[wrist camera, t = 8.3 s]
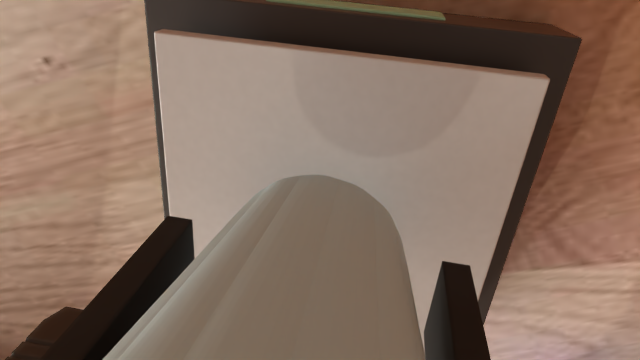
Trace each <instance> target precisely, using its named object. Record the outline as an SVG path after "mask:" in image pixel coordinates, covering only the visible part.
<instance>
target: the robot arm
mask: <svg viewBox="0 0 640 360" xmlns="http://www.w3.org/2000/svg"><path fill="white" fill-rule="evenodd" d="M194 259H195V257H194V240H193V223H192V219H185V218H179V217H173V216H167V217H166V219H165V220H164V221H163V222H162V223H161V224H160V225H159V226H158V227H157V229H156V230H155V231H154V232H153V233H152V234H151V235H150V236H149V237H148V239H147V240H146V241H145V242H144V243H143V244H142V245H141V246H140V248H139V249H138V250H137V251H136V252H135V253H134V254H133V255H132V256H131V258H130V259H129V260H128V261H127V262H126V263H125V264H124V265H123V267H122V268H121V269H120V270H119V271H118V272H117V273H116V274H115V275H114V277H113V278H112V279H111V280H110V281H109V282H108V283H107V284H106V286H105V287H104V288H103V289H102V290H101V291H100V292H99V293H98V294H97V296H96V297H95V298H94V299H93V300H92V301H91V302H90V303H89V304H88V306H87V307H86V308H85V309H84V310H82V309H76V308H71V307H65V308H63V309H61V310H60V311H58V312H56V313H55V314H53V315H52V316H50V317H48V318H47V319H45V320H43V321H42V322H41V323H40V325H39V326H38V327H37V328H36V329H35V330H34V331H33V332H32V333H31V334H30V335H29V336H28V337H27V338H26V341H25V342H22V343H21V344H20V345H19V346H18V347H17V348H16V349H15V350H14V351H13V352H12V355H11V356H10V357H7V358H6V359H5V360H102V359H103V358H104V357H105V356H106V355H107V354H108V353H109V352H110V351H111V350H112V349H113V347H114V346H115V345H116V344H117V343H118V342H119V341H120V340H121V339H122V338H123V337H124V335H125V334H126V333H127V332H128V331H129V330H130V329H131V328H132V327H133V326H134V325H135V323H136V322H137V321H138V320H139V319H140V318H141V317H142V316H143V315H144V314H145V313H146V312H147V310H148V309H149V308H150V307H151V306H152V305H153V304H154V303H155V302H156V301H157V300H158V298H159V297H160V296H161V295H162V294H163V293H164V292H165V291H166V290H167V289H168V288H169V286H170V285H171V284H172V283H173V282H174V281H175V280H176V279H177V278H178V277H179V276H180V274H181V273H182V272H183V271H184V270H185V269H186V268H187V267H188V266H189V265H190V264H191V263H192V261H193V260H194ZM424 347H425V358H426V360H491V359H490V354H489V350H488V345H487V341H486V336H485V332H484V327H483V322H482V318H481V313H480V309H479V304H478V300H477V295H476V291H475V286H474V281H473V277H472V272H471V268H470V265H464V264H458V263H452V262H446V261H442V264H441V268H440V272H439V275H438V279H437V283H436V287H435V291H434V294H433V298H432V302H431V306H430V310H429V313H428V317H427V321H426V325H425V329H424Z"/></svg>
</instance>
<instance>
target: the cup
mask: <svg viewBox="0 0 640 360" xmlns="http://www.w3.org/2000/svg"><path fill="white" fill-rule="evenodd" d="M102 360H426V358H425V353H424V348H423V343H422V338H421V333H420V328H419V322H418V317H417V312H416V307H415V302H414V297H413V292H412V286H411V281H410V276H409V271H408V266H407V261H406V257H405V252H404V248H403V243H402V239H401V237H400V234H399V232H398V230H397V228H396V226H395V223H394V221H393V218H392V217H391V215H390V213H389V212H388V211H387V210H386V208H385V207H384V206H383V205H382V204H381V203H380V202H378V201H377V200H376V199H375V198H374V197H373V196H371V195H370V194H369V193H368V192H366V191H365V190H363V189H362V188H360V187H358V186H357V185H354V184H352V183H349V182H346V181H343V180H340V179H337V178H333V177H329V176H325V175H301V176H293V177H287V178H284V179H281V180H278V181H276V182H274V183H272V184H271V185H269V186H268V187H266V188H265V189H263V190H261V191H259V192H258V193H257V194H255V195H254V196H253V197H252V198H251V199H250V200H249V201H248V202H247V203H246V204H245V205H244V206H243V207H242V208H241V209H240V210H239V211H238V212H237V214H236V215H235V216H234V217H233V218H232V219H231V220H230V221H229V222H228V223H227V224H226V225H225V227H224V228H223V229H222V230H221V231H220V232H219V233H218V234H217V235H216V236H215V237H214V239H213V240H212V241H211V242H210V243H209V244H208V245H207V246H206V247H205V248H204V249H203V251H202V252H201V253H200V254H199V255H198V256H197V257H196V258H195V259H194V260H193V261H192V263H191V264H190V265H189V266H188V267H187V268H186V269H185V270H184V271H183V272H182V273H181V274H180V276H179V277H178V278H177V279H176V280H175V281H174V282H173V283H172V284H171V285H170V286H169V288H168V289H167V290H166V291H165V292H164V293H163V294H162V295H161V296H160V297H159V298H158V300H157V301H156V302H155V303H154V304H153V305H152V306H151V307H150V308H149V309H148V310H147V312H146V313H145V314H144V315H143V316H142V317H141V318H140V319H139V320H138V321H137V322H136V323H135V325H134V326H133V327H132V328H131V329H130V330H129V331H128V332H127V333H126V334H125V335H124V337H123V338H122V339H121V340H120V341H119V342H118V343H117V344H116V345H115V346H114V347H113V349H112V350H111V351H110V352H109V353H108V354H107V355H106V356H105V357H104V358H103V359H102Z"/></svg>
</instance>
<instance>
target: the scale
mask: <svg viewBox="0 0 640 360" xmlns="http://www.w3.org/2000/svg"><path fill="white" fill-rule="evenodd" d="M144 3H145V14H146V24H147V35H148V46H149V57H150V68H151V78H152V89H153V100H154V111H155V122H156V132H157V143H158V154H159V165H160V176H161V186H162V197H163V208H164V219H166V217H167V216H173V217H179V218H185V219H192V223H193V240H194V257H195V258H196V257H197V256H198V255H199V254H200V253H201V252H202V251H203V249H204V248H205V247H206V246H207V245H208V244H209V243H210V242H211V241H212V240H213V239H214V237H215V236H216V235H217V234H218V233H219V232H220V231H221V230H222V229H223V228H224V227H225V225H226V224H227V223H228V222H229V221H230V220H231V219H232V218H233V217H234V216H235V215H236V214H237V212H238V211H239V210H240V209H241V208H242V207H243V206H244V205H245V204H246V203H247V202H248V201H249V200H250V199H251V198H252V197H253V196H254V195H255V194H257V193H258V192H259V191H261V190H263V189H265V188H266V187H268V186H269V185H271V184H272V183H274V182H276V181H278V180H281V179H284V178H287V177H293V176H301V175H325V176H329V177H333V178H337V179H340V180H343V181H346V182H349V183H352V184H354V185H357V186H358V187H360V188H362V189H363V190H365V191H366V192H368V193H369V194H370V195H371V196H373V197H374V198H375V199H376V200H377V201H378V202H380V203H381V204H382V205H383V206H384V207H385V208H386V210H387V211H388V212H389V213H390V215H391V217H392V218H393V221H394V223H395V226H396V228H397V230H398V232H399V234H400V237H401V239H402V243H403V248H404V252H405V257H406V261H407V266H408V271H409V276H410V281H411V286H412V292H413V297H414V302H415V307H416V312H417V317H418V322H419V328H420V333H421V338H422V343H423V348H424V353H425V347H424V329H425V325H426V321H427V317H428V313H429V310H430V306H431V302H432V298H433V294H434V291H435V287H436V283H437V279H438V275H439V272H440V268H441V264H442V261H446V262H452V263H458V264H464V265H470V268H471V272H472V277H473V281H474V286H475V291H476V295H477V300H478V304H479V309H480V313H481V318H482V322H483V325H484V322H485V319H486V316H487V313H488V310H489V307H490V304H491V301H492V299H493V296H494V293H495V290H496V287H497V284H498V281H499V278H500V275H501V272H502V270H503V267H504V264H505V261H506V258H507V255H508V252H509V249H510V246H511V243H512V241H513V238H514V235H515V232H516V229H517V226H518V223H519V220H520V217H521V214H522V212H523V209H524V206H525V203H526V200H527V197H528V194H529V191H530V188H531V185H532V183H533V180H534V177H535V174H536V171H537V168H538V165H539V162H540V159H541V156H542V154H543V151H544V148H545V145H546V142H547V139H548V136H549V133H550V130H551V127H552V125H553V122H554V119H555V116H556V113H557V110H558V107H559V104H560V101H561V98H562V96H563V93H564V90H565V87H566V84H567V81H568V78H569V75H570V72H571V70H572V67H573V64H574V61H575V58H576V55H577V52H578V49H579V46H580V43H581V41H582V39H581V38H579V37H577V36H575V35H573V34H571V33H569V32H566V31H564V30H562V29H560V28H558V27H556V26H553V25H550V24H540V23H531V22H521V21H512V20H503V19H493V18H484V17H475V16H465V15H456V14H447V13H441V12H437V11H427V10H418V9H408V8H399V7H390V6H380V5H371V4H362V3H352V2H343V1H333V0H144Z"/></svg>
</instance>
